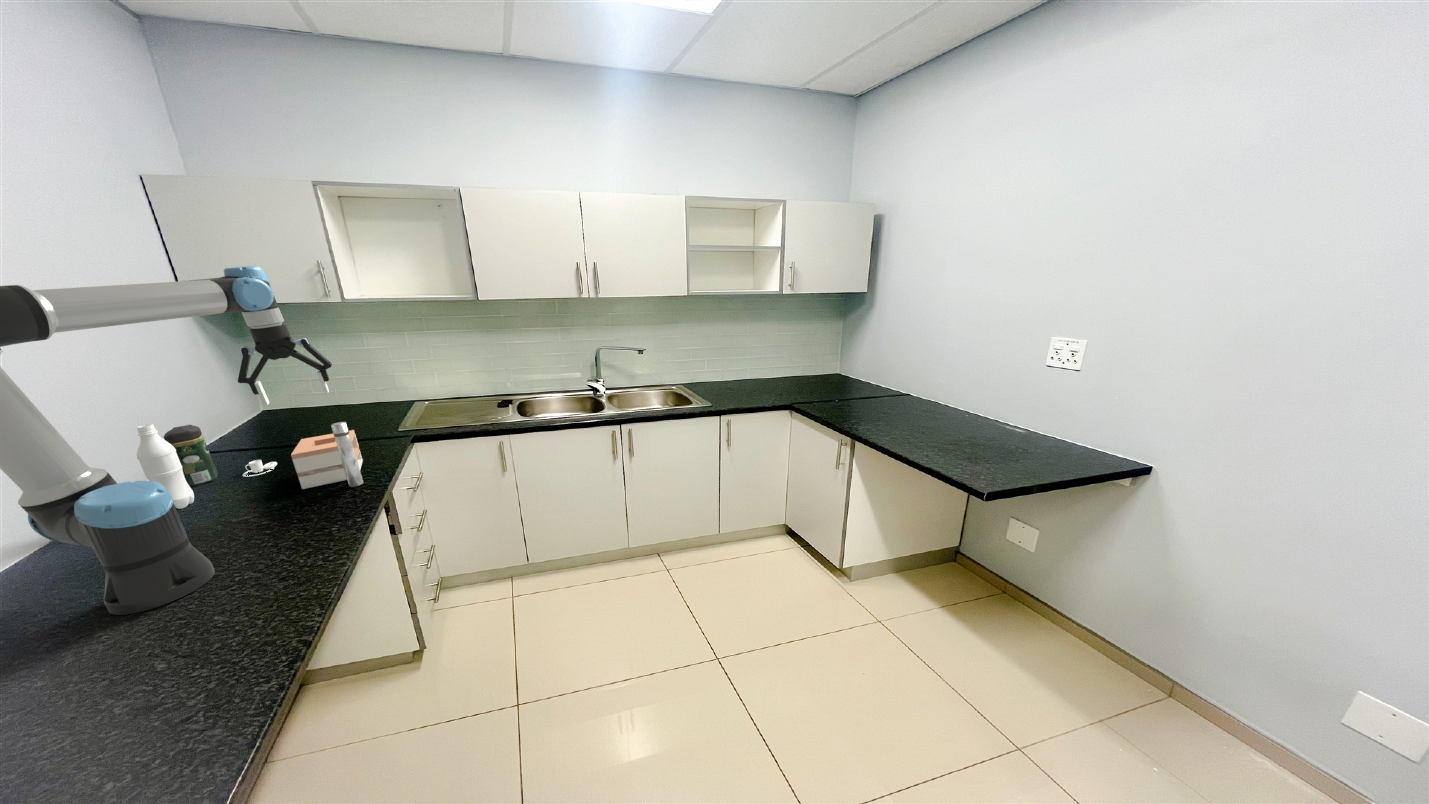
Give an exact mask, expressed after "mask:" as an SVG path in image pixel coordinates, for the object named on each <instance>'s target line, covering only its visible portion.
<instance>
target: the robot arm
mask: <svg viewBox="0 0 1429 804" xmlns="http://www.w3.org/2000/svg"><path fill="white" fill-rule="evenodd" d="M223 275H224V276H221V277H220V276H219V277H212V278H199V279H193V280H182V281H168V282H167V281H166V282H151V283H150V282H149V283H133V284H132V283H131V284H130V283H129V284H115V285H100V286H97V285H96V286H80V287H66V288H65V287H63V288H50V289H29V288H28V287H25V286H24V285H19V284H13V285H12V284H11V285H10V284H9V285H0V356H1V355H2V353H3V350H2V347H7V346H12V345H18V344H24V343H31V342H39V341H40V342H41V341H46V340H47V341H48V340H49V339H50V338H51V337H52V336H53V335H54V334H55V333H64V332H73V331H80V330H89V329H97V328H107V327H114V326H123V325H132V324H139V323H140V324H141V323H148V322H149V323H150V322H157V321H166V320H175V319H182V318H183V319H184V318H191V317H198V316H199V317H200V316H209V315H210V316H211V315H216V314H226V313H228V314H230V313H235V312H236V313H238V312H241V315H242V317H243V320H244V321H245V323H246V326H247V327H249V328H250V329H249V333H250V335H251V337H252V340H253V342H254V346H247V345H244V346H243V347H242V348H241V349H240V351H241V354H242V355H241V356H242V359H241V364H240V369H239V373H238V377H237V382H238V383H239V384H247V385H249V387H250V390H251V391H252V393H253V394H254V395H255V396H257V395H259V397H260V399H261V402H262V404H263V406H264V407H266V406H268V405H269V404H270V400H269V398H268V396H267V393H266V391H265V389H264V387H263V384H262V382H261V380H257V379H258V378H259V375H260V374H261V372H262V370H263V369H264V367H265V366H266V364H267V362H268V361H269V360H273V361H277V360H279V359H288V358H290V357H292V358H294V359H297V360H299V361H300V362H303V363H305V364H306V365H309V366H310V367H312V368H314V369H315V370H317V372H316V374H317V376H318V379H319V381H320V384H321V386H322V389H323V392H324V394H329V392H330V390H329V389H330V388H329V386H328V384H327V382H328V381H330V377H329V374H328V372H327V369H330V368H332V365H333V363H332V362H331V361H330V360H329V359H327V358H326V357H325V356H324V355H323V354H322V353H320V352H319V351H318V350H317V349H316V348H315V347H314V346H312V344H311V343H310V342H309V340H308V339H307V338H306V337H302V338H301V339H297V340H294V339H293V338H292V336H291V335H290V331H289V329H288V327H287V324H285V323H284V322H285V319H284V317H283V314H282V312H281V310H280V308H279V305H278V302H277V299H276V298H275V295H274V292H273V289H272V287H271V284H270V281H269V279H268V278H267V276H266V273H265V272H264V270H263V268H262V267H261V266H258V265H245V266H233V267H226V268H224V269H223ZM297 345H298V346H299V347H301V348H304V349H305V351H307V352H308V353H309V354H310V355H312V356H313V357H314V358H315V359H316V360H317V361H319V362H320V363H319V362H317V361H316V360H314V359H312V358H310V357H309V356H306V355H305V354H303V353H301V352H300V351H298V350H296V349H295V348H296V346H297ZM255 352H257V353H258V354H260V355H262V357H261V358H260V360H259V361H258V364H257V365H256V367H255V368H254V370H253V372H251V375H250V377H247V376H248V373H249V372H248V371H249V367H250V366H249V365H250V364H251V363H250V362H251V357H252V356H253V355H254V353H255ZM0 470H1V471H2V472H3V473H4V474H5V475H6V476H7V477H8V478H9V479H10V480H11V481H12V482H13V483H14V485H16V486H17V487H18V488H19V490H21V492H22V493H21V495H20V497H19V499H18V501H17V504H18V506H20V507H21V508H22V510H24V511H25V512H26V514H27V520H28V521H27V522H28V524H29V526H30V527H31V528H32V530H33V531H34V532H35V533H37V534H38V535H39V536H42V537H43V538H45V539H48V540H50V541H53V542H57V543H63V544H69V545H70V544H71V545H78V546H84V547H89V548H92V549H93V551H94V553H95V555H96V556H97V559H98V561H99V563H100V565H101V567H102V569H103V570H104V573H105V579H104V592H103V593H104V594H103V603H104V606H105V607H106V609H107V611H108V613H110V614H111V615H119V616H121V615H122V616H123V615H131V614H137V613H141V612H146V611H149V610H152V609H155V608H156V609H157V608H159V607H161V606H164V605H167V604H169V603H172V602H174V601H176V600H179V599H181V598H183V597H185V596H187V595H189V594H191V593H193V592H195V591H196V590H198V589H200V588H201V587H202V586H204V585H206V584H207V583H208V582H210V580H211V579H212V578H213V577H214V576H215V573H216V570H215V568H214V566H213V563H212V561H211V560H210V559H208V557H206V556H205V555H204V554H203V553H202V552H200V551H199V549H197V548H196V547H194V546H193V544H191V542H190V539H189V538H188V535H187V533H186V530H185V527H184V526H183V523H182V521H181V518H180V516H179V513H178V509H177V508H176V507H175V506H174V503H173V499H172V496H171V495H170V494H169V493H168V491H167V489H166V488H165V487H164V486H163V485H162V484H160V483H158V482H153V481H149V480H135V481H125V482H117V481H116V480H115V479H114V478H113V476H111V474H110V473H109V472H108V471H107V470H106V469H103V468H97V467H91V466H89V465H88V464H87V463H86V462H85V461H84V459H83V458H82V457H81V456H80V455H79V453H77V452H76V451H75V450H74V448H73V447H72V446H71V445H70V444H69V443H68V441H67V440H66V439H65V438H64V437H63V436H62V435H61V433H60V432H59V431H58V430H57V429H56V428H55V427H54V425H52V423H50V421H49V420H48V419H47V418H46V416H44V414H43V413H42V412H41V411H40V410H39V409H38V407H37V406H36V405H35V404H34V403H33V402H32V401H31V399H29V397H28V396H27V395H26V394H25V393H24V392H23V390H22V389H21V388H20V387H19V386H18V385H17V384H16V382H15V381H14V380H13V379H12V378H11V377H10V376H9V375H8V373H7V372H6V371H5V370H4V368H2V367H1V366H0Z"/></svg>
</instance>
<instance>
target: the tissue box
mask: <svg viewBox="0 0 1429 804" xmlns="http://www.w3.org/2000/svg"><path fill="white" fill-rule="evenodd" d="M349 434H350V438H351V441H352V445H353V448H354V452H355V455H356V458H357V462H358V465H359V469H360V470H361V468H362V465H363V461H364V459H363V457H362V454H361V453H362V452H361V450H360V447H359V446H360V445H359V443H358V439H357V436H356V433H355V429H351V430H349ZM290 456H291V460H292V462H293V466H294V469H295V472H296V475H297V478H298V481H299V484H300V486H301V490H305V489H309V488H314V487H319V486H323V485H328V484H333V483H338V482H342V481H347V477H346V474H345V471H344V467H343V464H342V460H341V457H340V454H339V450H338V447H337V444H336V440H335V437H334V434H333V433H329V434H328V433H327V434H323V435H319V436H312V437H306V438H301V439H300V441H299V442H298V443H297V445H296V446H295V448H294V449H293V451H292V452H291V454H290Z"/></svg>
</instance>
